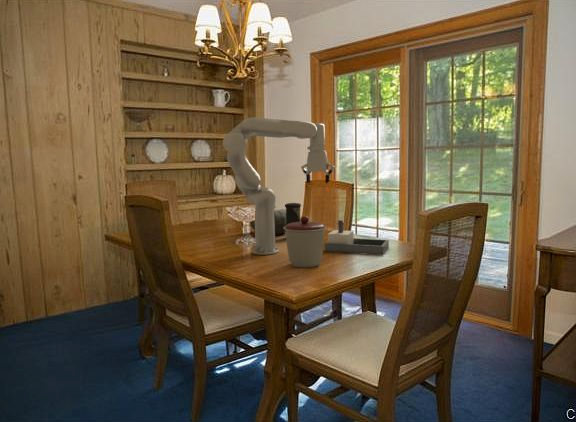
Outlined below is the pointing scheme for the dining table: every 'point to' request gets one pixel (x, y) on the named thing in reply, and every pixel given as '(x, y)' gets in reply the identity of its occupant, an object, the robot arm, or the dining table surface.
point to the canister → (305, 242)
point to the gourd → (277, 221)
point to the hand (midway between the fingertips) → (317, 182)
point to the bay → (360, 246)
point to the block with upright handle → (340, 235)
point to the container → (292, 212)
